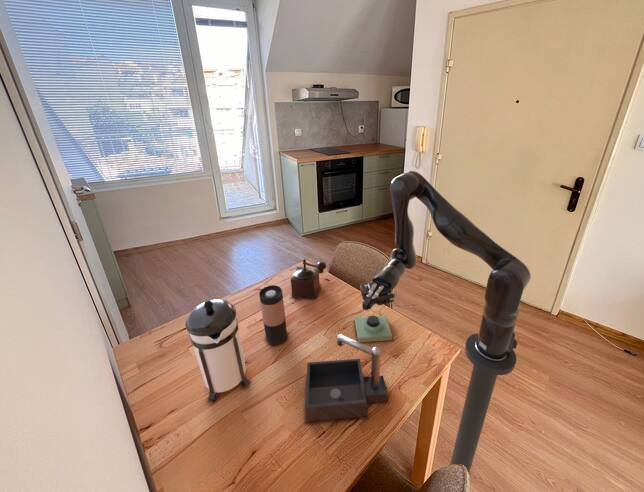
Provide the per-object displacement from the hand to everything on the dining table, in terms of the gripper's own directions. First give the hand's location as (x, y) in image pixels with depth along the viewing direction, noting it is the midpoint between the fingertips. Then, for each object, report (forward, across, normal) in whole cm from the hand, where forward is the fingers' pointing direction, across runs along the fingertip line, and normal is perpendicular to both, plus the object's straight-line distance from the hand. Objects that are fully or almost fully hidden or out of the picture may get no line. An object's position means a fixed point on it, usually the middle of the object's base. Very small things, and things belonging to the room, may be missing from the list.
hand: (365, 307), depth 91 cm
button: (-11, -2, +16) cm, 19 cm away
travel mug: (+9, -30, +20) cm, 37 cm away
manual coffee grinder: (-18, -35, +20) cm, 44 cm away
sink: (+16, +2, +19) cm, 25 cm away
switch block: (-11, -2, +19) cm, 22 cm away
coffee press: (+30, -33, +20) cm, 49 cm away
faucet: (+11, +4, +16) cm, 20 cm away
